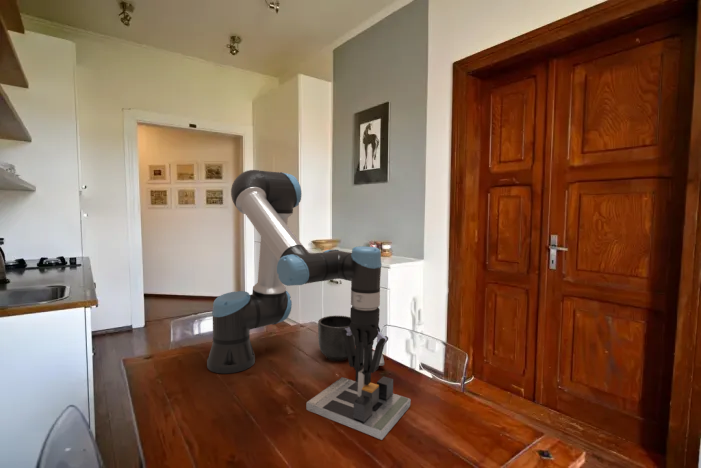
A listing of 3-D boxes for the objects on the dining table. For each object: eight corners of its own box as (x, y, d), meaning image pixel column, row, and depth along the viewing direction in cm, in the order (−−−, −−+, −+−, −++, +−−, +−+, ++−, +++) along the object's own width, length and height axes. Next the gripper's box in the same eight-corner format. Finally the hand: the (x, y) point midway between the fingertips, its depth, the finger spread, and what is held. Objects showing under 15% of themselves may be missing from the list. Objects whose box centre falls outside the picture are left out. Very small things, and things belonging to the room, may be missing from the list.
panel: (306, 409, 93) (306, 386, 93) (341, 383, 107) (342, 363, 107) (381, 440, 82) (382, 413, 81) (410, 406, 96) (411, 383, 95)
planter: (333, 346, 137) (334, 313, 136) (364, 355, 129) (365, 320, 128) (309, 358, 125) (309, 322, 124) (340, 369, 117) (341, 330, 116)
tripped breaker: (361, 404, 92) (361, 388, 91) (368, 398, 95) (369, 381, 95) (371, 408, 90) (371, 391, 90) (378, 401, 94) (379, 384, 93)
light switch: (384, 371, 117) (385, 356, 116) (354, 370, 117) (354, 355, 116) (381, 358, 126) (382, 344, 126) (354, 358, 126) (354, 344, 126)
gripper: (336, 305, 92) (334, 393, 94) (381, 314, 85) (378, 409, 87) (351, 299, 99) (349, 382, 100) (394, 307, 92) (391, 396, 93)
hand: (362, 394), depth 94 cm, fingers closed
